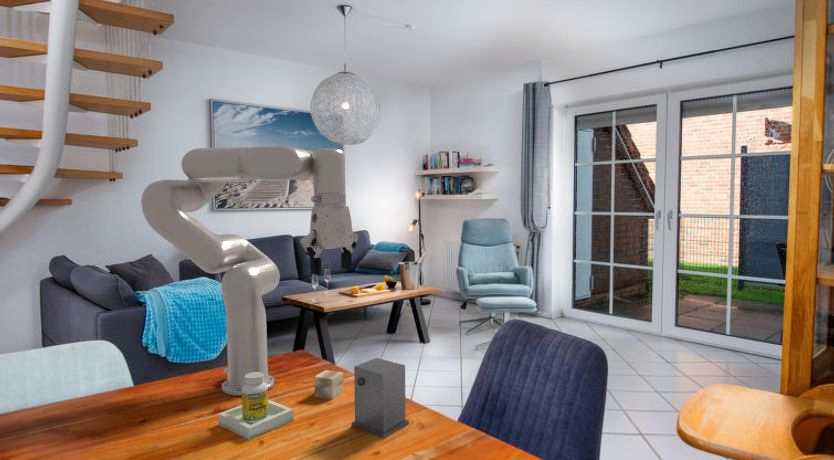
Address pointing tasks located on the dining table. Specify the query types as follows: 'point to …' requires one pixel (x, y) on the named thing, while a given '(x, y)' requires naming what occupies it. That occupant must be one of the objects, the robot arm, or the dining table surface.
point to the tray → (249, 431)
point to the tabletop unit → (379, 397)
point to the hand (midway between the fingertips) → (331, 271)
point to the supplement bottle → (254, 398)
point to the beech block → (328, 384)
